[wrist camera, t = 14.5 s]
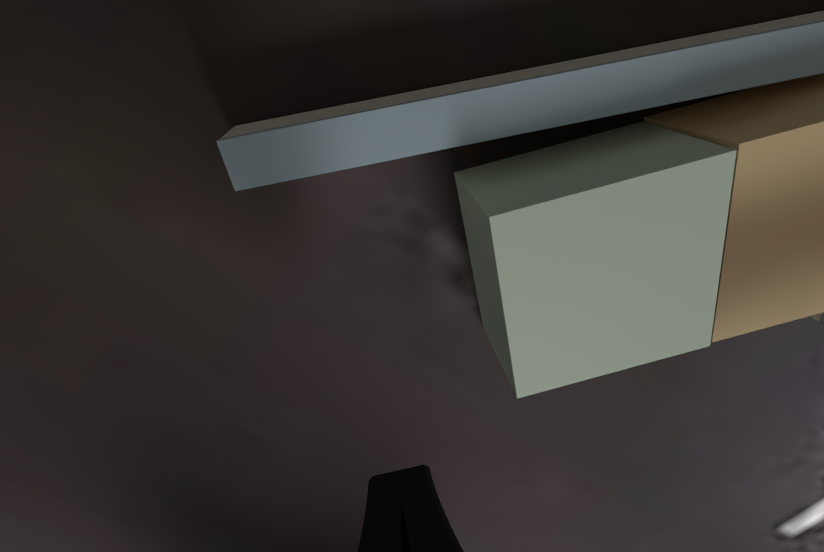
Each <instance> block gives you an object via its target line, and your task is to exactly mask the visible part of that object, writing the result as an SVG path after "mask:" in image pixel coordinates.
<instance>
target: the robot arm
mask: <svg viewBox="0 0 824 552" xmlns="http://www.w3.org/2000/svg"><path fill="white" fill-rule="evenodd" d="M358 552H463V550H462V548H461V546H460V544H459V542H458V540H457V538H456V536H455V534H454V532H453V530H452V528H451V526H450V524H449V521H448V519H447V517H446V514H445V512H444V510H443V508H442V505H441V503H440V500H439V498H438V495H437V492H436V490H435V487H434V484H433V480H432V477H431V473H430V469H429V467H428V466H425V465H421V466H416V467H412V468H407V469H403V470H398V471H394V472H390V473H385V474H381V475H376V476H373V477H372V478H371V479H370V480H369V485H368V496H367V504H366V511H365V517H364V523H363V528H362V534H361V539H360V544H359V549H358Z"/></svg>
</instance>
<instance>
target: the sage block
mask: <svg viewBox="0 0 824 552" xmlns="http://www.w3.org/2000/svg"><path fill="white" fill-rule="evenodd" d="M736 151H737V150H735V149H731V148H728V147H725V146H721V145H718V144H715V143H712V142H708V141H705V140H702V139H698V138H695V137H692V136H688V135H685V134H682V133H679V132H675V131H672V130H669V129H665V128H662V127H659V126H655V125H652V124H649V123H645V122H639V123H635V124H631V125H627V126H624V127H620V128H616V129H613V130H609V131H605V132H602V133H598V134H594V135H590V136H587V137H583V138H579V139H576V140H572V141H568V142H565V143H561V144H557V145H553V146H550V147H546V148H542V149H539V150H535V151H531V152H527V153H524V154H520V155H516V156H513V157H509V158H505V159H502V160H498V161H494V162H490V163H487V164H483V165H479V166H476V167H472V168H468V169H465V170H461V171H457V172H454V175H455V180H456V186H457V191H458V196H459V202H460V207H461V212H462V218H463V223H464V228H465V234H466V239H467V244H468V250H469V255H470V260H471V266H472V271H473V276H474V282H475V287H476V292H477V298H478V303H479V308H480V314H481V319H482V324H483V327H484V329H485V331H486V333H487V336H488V338H489V340H490V342H491V344H492V346H493V348H494V350H495V353H496V355H497V357H498V359H499V361H500V363H501V365H502V367H503V369H504V372H505V374H506V376H507V378H508V380H509V382H510V384H511V386H512V388H513V391H514V393H515V395H516V397H517V398H521V397H525V396H528V395H532V394H536V393H539V392H543V391H547V390H550V389H554V388H558V387H561V386H565V385H569V384H572V383H576V382H579V381H583V380H587V379H590V378H594V377H598V376H601V375H605V374H609V373H612V372H616V371H620V370H623V369H627V368H631V367H634V366H638V365H642V364H645V363H649V362H653V361H656V360H660V359H664V358H667V357H671V356H675V355H678V354H682V353H686V352H689V351H693V350H697V349H700V348H704V347H708V346H710V343H711V335H712V328H713V321H714V313H715V306H716V299H717V291H718V284H719V276H720V269H721V262H722V254H723V247H724V240H725V232H726V225H727V218H728V210H729V203H730V196H731V188H732V181H733V173H734V166H735V159H736Z"/></svg>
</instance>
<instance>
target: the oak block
mask: <svg viewBox="0 0 824 552" xmlns="http://www.w3.org/2000/svg"><path fill="white" fill-rule="evenodd" d="M644 122H645V123H649V124H652V125H655V126H659V127H662V128H665V129H669V130H672V131H675V132H679V133H682V134H685V135H688V136H692V137H695V138H698V139H702V140H705V141H708V142H712V143H715V144H718V145H721V146H725V147H728V148H731V149H735V150H737V151H736V159H735V166H734V173H733V181H732V188H731V196H730V203H729V210H728V218H727V225H726V232H725V240H724V247H723V254H722V262H721V269H720V276H719V284H718V291H717V299H716V306H715V313H714V321H713V328H712V335H711V342H715V341H719V340H723V339H726V338H730V337H734V336H737V335H741V334H745V333H748V332H752V331H756V330H759V329H763V328H767V327H771V326H774V325H778V324H782V323H785V322H789V321H793V320H796V319H800V318H804V317H807V316H811V315H815V314H819V313H822V312H824V73H821V74H816V75H811V76H806V77H801V78H796V79H791V80H786V81H781V82H776V83H771V84H766V85H762V86H758V87H755V88H751V89H747V90H743V91H740V92H736V93H732V94H729V95H725V96H721V97H717V98H714V99H710V100H706V101H702V102H699V103H695V104H691V105H687V106H684V107H680V108H676V109H672V110H669V111H665V112H661V113H657V114H654V115H650V116H646V117H644Z"/></svg>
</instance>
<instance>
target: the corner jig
mask: <svg viewBox="0 0 824 552" xmlns="http://www.w3.org/2000/svg"><path fill="white" fill-rule="evenodd" d="M821 73H824V11H819V12H814V13H809V14H804V15H799V16H794V17H788V18H783V19H778V20H773V21H768V22H763V23H758V24H753V25H748V26H742V27H737V28H732V29H727V30H722V31H717V32H712V33H707V34H702V35H697V36H691V37H686V38H681V39H676V40H671V41H666V42H661V43H656V44H651V45H646V46H640V47H635V48H630V49H625V50H620V51H615V52H610V53H605V54H600V55H594V56H589V57H584V58H579V59H574V60H569V61H564V62H559V63H554V64H549V65H543V66H538V67H533V68H528V69H523V70H518V71H513V72H508V73H503V74H497V75H492V76H487V77H482V78H477V79H472V80H467V81H462V82H457V83H452V84H446V85H441V86H436V87H431V88H426V89H421V90H416V91H411V92H406V93H401V94H395V95H390V96H385V97H380V98H375V99H370V100H365V101H360V102H355V103H349V104H344V105H339V106H334V107H329V108H324V109H319V110H314V111H309V112H304V113H298V114H293V115H288V116H283V117H278V118H273V119H268V120H263V121H258V122H253V123H247V124H242V125H237V126H234V127H233V128H232V129H231V130H230V131H228V132H227V133H226V134H225V135H224V136H223V137H222V138H221V139H218V140H217V141H216V142H217V145H218V147H219V150H220V153H221V155H222V158H223V161H224V163H225V166H226V169H227V171H228V174H229V177H230V179H231V182H232V185H233V187H234V190H235V191H240V190H245V189H249V188H254V187H259V186H264V185H269V184H274V183H279V182H284V181H289V180H294V179H299V178H304V177H309V176H314V175H319V174H324V173H329V172H334V171H339V170H344V169H349V168H354V167H359V166H364V165H369V164H374V163H379V162H384V161H389V160H394V159H399V158H404V157H409V156H413V155H418V154H423V153H428V152H433V151H438V150H443V149H448V148H453V147H458V146H463V145H468V144H473V143H478V142H483V141H488V140H493V139H498V138H503V137H508V136H513V135H518V134H523V133H528V132H533V131H538V130H543V129H548V128H553V127H558V126H563V125H568V124H573V123H577V122H582V121H587V120H592V119H597V118H602V117H607V116H612V115H617V114H622V113H627V112H632V111H637V110H642V109H647V108H652V107H657V106H662V105H667V104H672V103H677V102H682V101H687V100H692V99H697V98H702V97H707V96H712V95H717V94H722V93H727V92H732V91H737V90H741V89H746V88H751V87H756V86H761V85H766V84H771V83H776V82H781V81H786V80H791V79H796V78H801V77H806V76H811V75H816V74H821ZM811 317H812V318H814V319H816V320H817V321H819V322H820V323H822V324H823V325H824V312H822V313H819V314H815V315H811Z"/></svg>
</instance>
